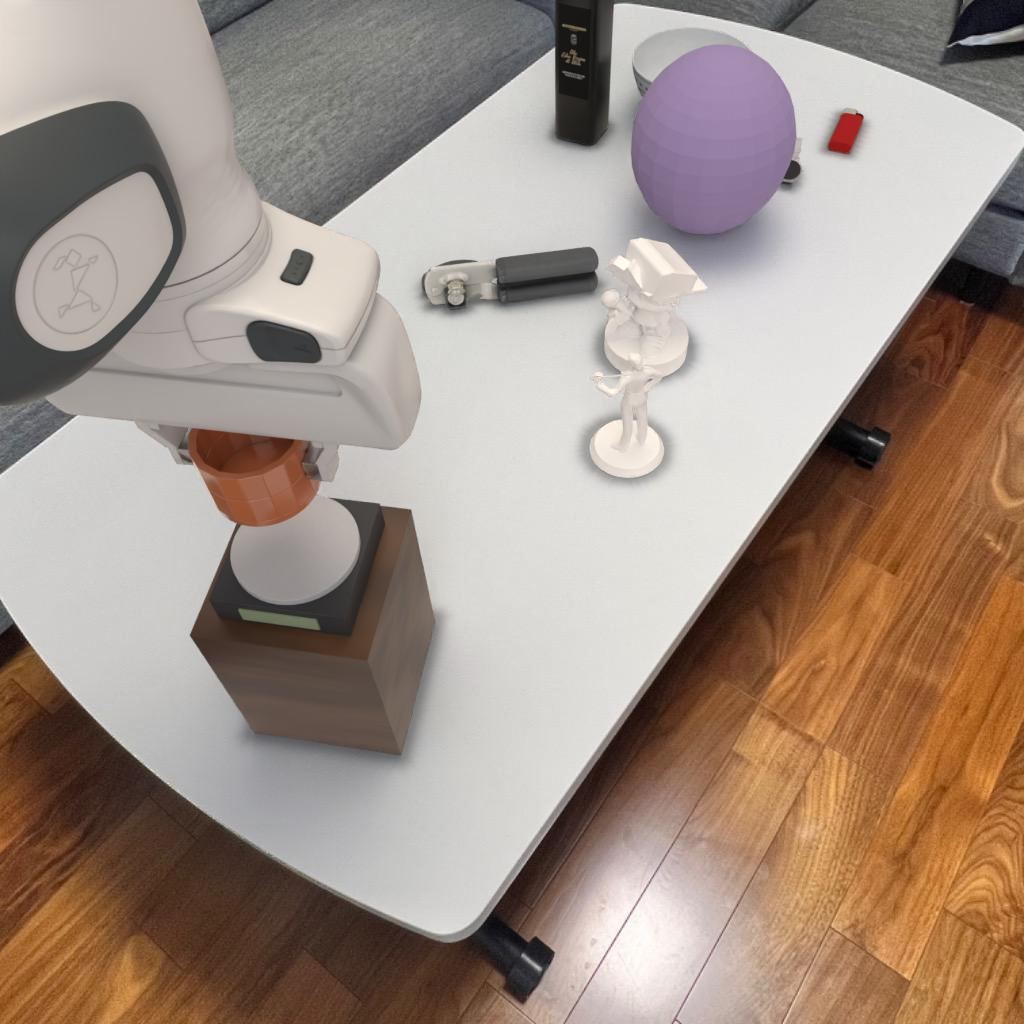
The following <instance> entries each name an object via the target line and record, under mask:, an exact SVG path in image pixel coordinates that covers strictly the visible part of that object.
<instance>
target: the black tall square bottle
mask: <svg viewBox="0 0 1024 1024" xmlns="http://www.w3.org/2000/svg"><path fill="white" fill-rule="evenodd" d="M614 11H615V0H554V95H555V96H554V132H555V135H556V137H557V138H559V139H562V140H566V141H570V142H574V143H577V144H581V145H585V146H586V145H587V146H590V145H594V144H595V143H597V141H598V140H599V139H600V138H601V136H602V135H603V134H604V132H605V131H606V130H607V128H608V127H609V118H610V99H611V98H610V97H611V96H610V95H611V77H612V76H611V75H612V54H613V35H614V34H613V32H614Z"/></svg>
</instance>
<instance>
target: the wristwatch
mask: <svg viewBox="0 0 1024 1024" xmlns="http://www.w3.org/2000/svg"><path fill="white" fill-rule="evenodd" d="M802 144H803V138H802V137H796V143H795V150H794V154H793V157H792V159H791V162H790V165H789V167H788V169H787V172H786V174H785V176H784V178H783V180H782V183H783V182H785V183H792V184H793V183H794V182H795V180H796V179H798V178H799V177H800V175H801V174H802V173H803V172H804V169H803V166H802V164H801V162H800V154H801V152H802Z"/></svg>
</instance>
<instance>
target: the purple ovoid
mask: <svg viewBox="0 0 1024 1024" xmlns="http://www.w3.org/2000/svg"><path fill="white" fill-rule="evenodd" d="M796 138H798V136H797V123H796V113H795V107H794V103H793V100H792V96H791V93H790V91H789V90H788V88H787V86H786V84H785V82H784V80H783V79H782V78H781V76H780V75H779V73H777V71H776V70H775V68H774V67H773V66H772V65H771V64H770V63H769V61H767V60H765V59H764V58H762V57H761V56H760V55H758V54H757V53H755V52H753V50H752V51H750V50H748V49H745V48H742V47H739V46H734V45H726V44H715V45H708V46H703V47H700V48H698V49H695V50H692V51H690V52H688V53H686V54H684V55H682V56H681V57H679V58H678V59H676V60H675V61H674V62H672V63H671V64H670V65H668V66H667V67H666V68H665V69H663V70H662V72H661V73H660V74H659V75H658V76H657V77H656V78H655V79H654V81H653V82H652V84H651V85H650V87H649V88H648V90H647V92H646V93H645V95H644V97H642V99H641V100H640V103H639V104H638V106H637V109H636V113H635V116H634V119H633V123H632V131H631V142H630V158H631V168H632V173H633V176H634V181H635V183H636V184H637V187H638V189H639V191H640V193H641V195H642V198H643V200H644V202H645V203H646V205H647V206H648V208H649V209H650V210H651V211H652V212H653V213H654V214H655V215H656V216H658V217H659V218H660V220H662V222H664V223H665V224H667V225H669V226H671V227H672V228H676V229H677V230H680V231H682V232H685V233H689V234H694V235H715V234H719V233H720V234H721V233H725V232H727V231H729V230H732V229H734V228H737V227H738V226H741V225H743V224H744V223H746V222H747V221H749V220H750V219H751V218H752V217H754V216H755V215H756V214H757V213H758V212H759V211H761V210H762V209H763V208H764V207H765V206H766V205H767V204H768V203H769V201H770V200H771V199H772V198H773V197H774V196H775V194H776V193H777V190H778V189H779V187H780V185H781V184H782V183H783V181H782V180H783V178H784V176H785V174H786V172H787V169H788V167H789V165H790V162H791V159H792V157H793V154H794V150H795V143H796Z"/></svg>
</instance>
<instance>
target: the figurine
mask: <svg viewBox="0 0 1024 1024" xmlns="http://www.w3.org/2000/svg"><path fill="white" fill-rule="evenodd" d="M628 364H629V367H628V369H627V370H626V371H624V372H620V371H619V372H620V374H613V375H604V373H603V372H602V371H601V372H600V371H596V372H595V373H593V374H592V376H590V377H589V380H591V381H594V384H595V387H594V388H595V389H596V390H598V391H599V392H600V393H602V394H604V395H605V396H607V397H609V398H611V397H612V398H613V397H615V396H618V395H619V394H622V392H623V396H622V397H621V400H620V403H619V404H620V406H619V407H620V413H621V419H615V420H613V421H609V422H608V423H606V424H605V425H603V426H601V427H600V428H599V429H597V431H595V432H594V433H593V435H592V437H591V439H590V442H589V447H588V449H589V450H588V451H589V457H591V460H592V461H593V463H594V465H596V467H598V468H599V470H601V471H603V472H604V473H606V474H608V475H611V476H614V477H618V478H623V479H625V478H626V479H632V478H633V479H635V478H639V477H644V476H646V475H647V474H650V473H651V472H653V471H654V470H656V469H657V468H658V466H660V464H661V463H662V461H663V459H664V455H665V446H664V442H663V440H662V438H661V436H660V434H658V432H656V431H655V430H654V429H653V428H652V427H650V425H649V424H648V423H649V422H648V421H649V420H648V399H649V398H648V397H649V394H648V393H649V392H650V391H651V390H653V388H654V387H655V386H657V385H658V384H659V383H660V382H661V381H662V380H663V378H664V377H663V374H662V373H661V372H660V371H658V370H655V369H653V368H651V367H648V366H644V362H643V359H642V357H641V356H640V355H639V354H638V353H634V352H632V353H630V354H629V358H628ZM630 367H632V369H631V368H630ZM618 377H619V379H618V382H617V384H616V386H614V387H612V388H609V387H608V386H607V385H606V384H605V383H604V382H603V381H605V379H608V378H609V379H610V378H618ZM650 377H653V379H649V378H650ZM602 380H603V381H602ZM634 414H635V418H636V419H634Z"/></svg>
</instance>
